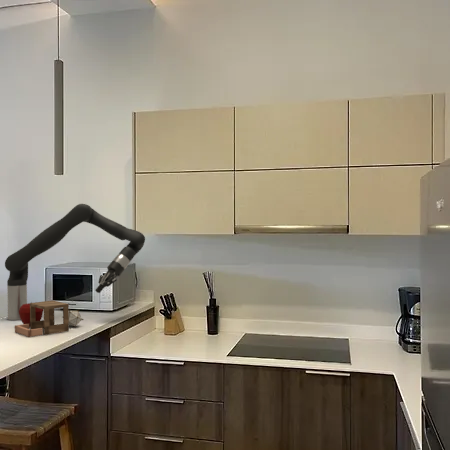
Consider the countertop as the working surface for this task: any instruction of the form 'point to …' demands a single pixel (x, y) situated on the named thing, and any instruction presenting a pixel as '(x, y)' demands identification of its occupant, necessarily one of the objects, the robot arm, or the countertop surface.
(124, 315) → the countertop surface
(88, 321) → the countertop surface
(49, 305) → the tunnel
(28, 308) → the apple
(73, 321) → the game die
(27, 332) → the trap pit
